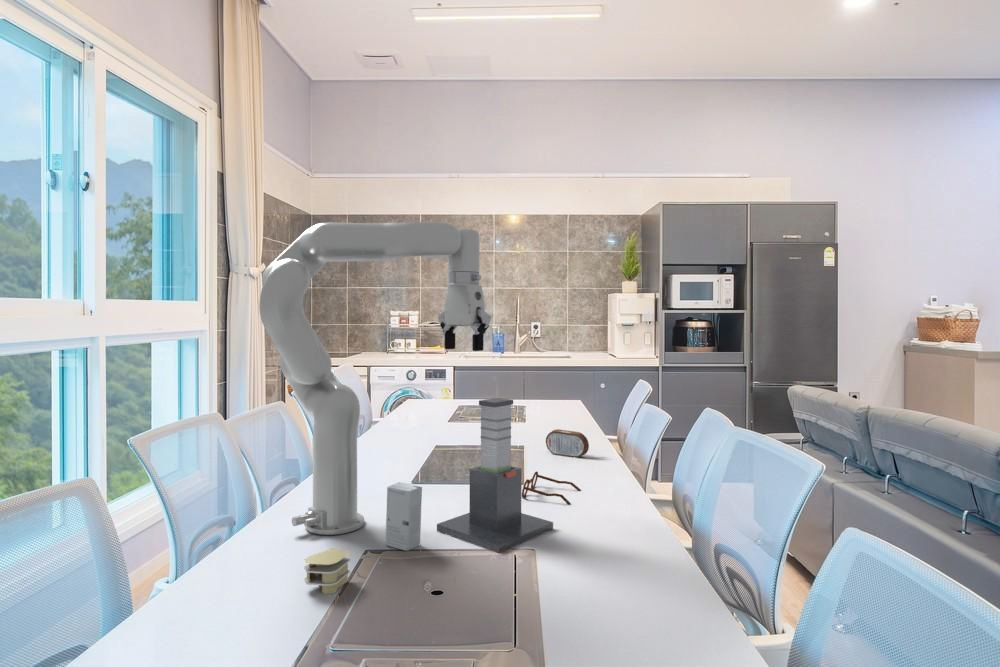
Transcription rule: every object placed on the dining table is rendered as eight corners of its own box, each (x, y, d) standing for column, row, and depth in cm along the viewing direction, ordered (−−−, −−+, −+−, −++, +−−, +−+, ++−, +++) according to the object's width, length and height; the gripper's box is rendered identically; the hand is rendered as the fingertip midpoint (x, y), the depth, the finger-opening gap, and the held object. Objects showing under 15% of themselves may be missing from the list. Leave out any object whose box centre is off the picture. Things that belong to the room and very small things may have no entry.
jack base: (498, 552, 119) (499, 485, 118) (436, 530, 130) (437, 469, 130) (553, 528, 132) (553, 468, 132) (492, 510, 144) (492, 454, 144)
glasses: (534, 487, 166) (534, 469, 166) (581, 491, 161) (581, 473, 161) (520, 501, 153) (520, 481, 153) (570, 506, 149) (571, 486, 149)
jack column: (494, 501, 127) (494, 402, 127) (478, 496, 130) (478, 400, 130) (512, 495, 132) (513, 399, 131) (496, 491, 135) (497, 397, 134)
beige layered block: (325, 572, 110) (325, 542, 110) (366, 581, 106) (366, 550, 106) (286, 596, 101) (286, 563, 100) (329, 606, 97) (330, 572, 97)
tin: (589, 457, 199) (589, 432, 198) (585, 459, 196) (585, 434, 196) (548, 452, 207) (548, 427, 206) (544, 453, 204) (544, 429, 204)
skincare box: (384, 545, 122) (384, 486, 122) (398, 538, 126) (398, 481, 125) (408, 551, 119) (408, 491, 118) (422, 544, 123) (422, 485, 122)
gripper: (500, 279, 145) (500, 350, 145) (450, 282, 156) (450, 347, 157) (478, 278, 139) (478, 352, 139) (428, 280, 150) (428, 349, 151)
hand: (463, 349), depth 148 cm, fingers open, 9 cm apart
